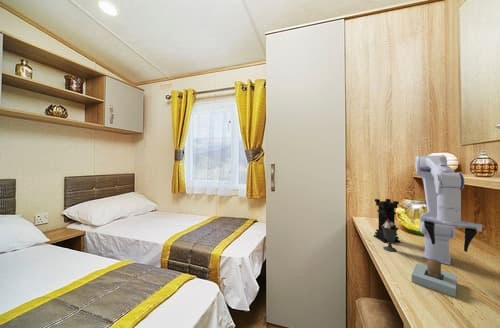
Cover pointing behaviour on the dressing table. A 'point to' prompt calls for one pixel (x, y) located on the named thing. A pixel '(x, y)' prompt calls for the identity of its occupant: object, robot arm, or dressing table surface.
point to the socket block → (435, 280)
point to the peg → (434, 268)
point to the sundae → (389, 234)
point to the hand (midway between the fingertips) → (448, 246)
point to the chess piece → (389, 211)
